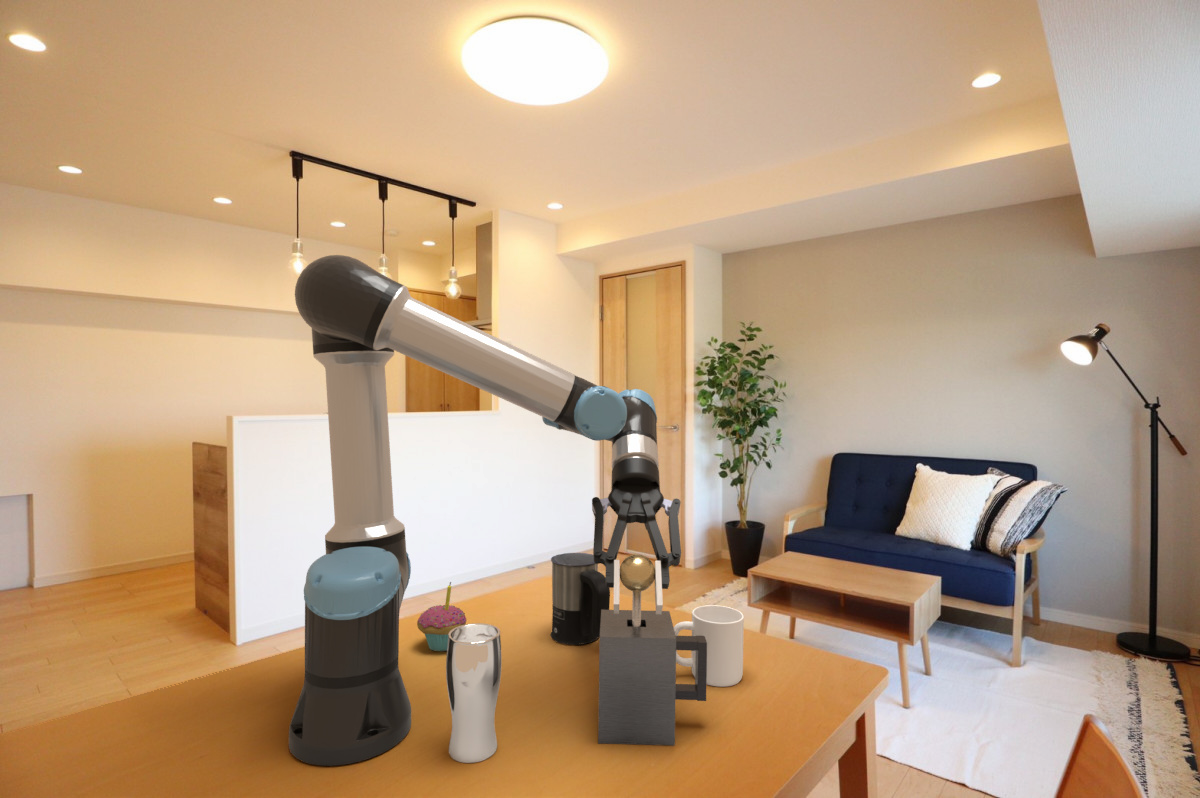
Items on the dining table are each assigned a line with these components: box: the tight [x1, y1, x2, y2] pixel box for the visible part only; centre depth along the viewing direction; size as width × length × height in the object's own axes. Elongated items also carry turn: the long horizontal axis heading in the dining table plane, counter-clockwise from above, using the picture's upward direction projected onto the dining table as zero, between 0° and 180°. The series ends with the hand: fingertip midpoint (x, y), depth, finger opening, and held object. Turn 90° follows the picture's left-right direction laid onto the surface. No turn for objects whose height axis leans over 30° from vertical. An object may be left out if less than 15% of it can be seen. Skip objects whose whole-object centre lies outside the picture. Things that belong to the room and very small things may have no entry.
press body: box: [597, 609, 707, 746], centre depth 84 cm, size 15×10×14 cm
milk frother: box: [550, 552, 611, 646], centre depth 115 cm, size 14×16×15 cm
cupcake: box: [416, 581, 467, 652], centre depth 109 cm, size 9×8×12 cm
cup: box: [673, 604, 745, 688], centre depth 99 cm, size 8×12×10 cm
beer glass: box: [445, 622, 503, 764], centre depth 77 cm, size 7×7×15 cm
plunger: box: [620, 553, 655, 627], centre depth 84 cm, size 8×8×22 cm
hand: (637, 609), depth 80 cm, fingers closed on plunger, 5 cm apart
